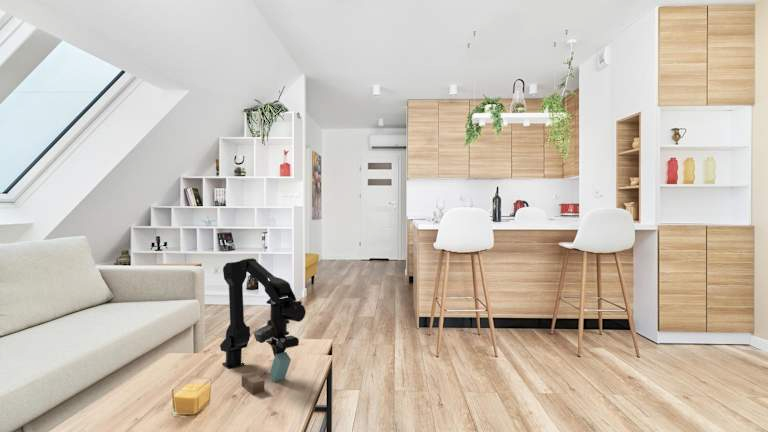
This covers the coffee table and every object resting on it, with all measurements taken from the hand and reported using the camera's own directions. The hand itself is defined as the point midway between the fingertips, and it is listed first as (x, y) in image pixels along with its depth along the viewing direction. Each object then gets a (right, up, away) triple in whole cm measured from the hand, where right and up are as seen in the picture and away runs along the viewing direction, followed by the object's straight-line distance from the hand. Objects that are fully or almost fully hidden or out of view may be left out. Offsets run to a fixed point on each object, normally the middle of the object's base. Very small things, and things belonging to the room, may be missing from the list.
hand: (277, 361), depth 143 cm
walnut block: (-9, -4, -5) cm, 11 cm away
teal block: (0, -5, 0) cm, 5 cm away
